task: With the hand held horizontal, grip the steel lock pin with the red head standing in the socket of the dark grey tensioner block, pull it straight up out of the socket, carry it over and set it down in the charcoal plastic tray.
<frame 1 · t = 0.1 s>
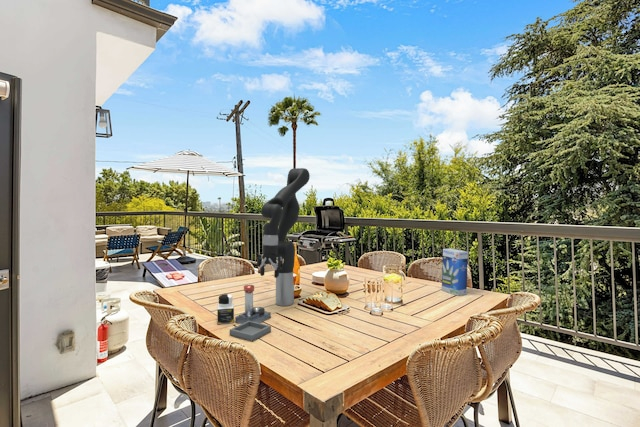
hand: (269, 276, 173), 17 cm above the table, tool pointing down, fingers open, 8 cm apart
medicine bottle: (225, 321, 159), on the table
tensioner block: (253, 319, 161), on the table
lock pin: (249, 316, 158), point 2 cm above the table, touching tensioner block
tray: (250, 333, 145), on the table
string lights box: (453, 292, 210), on the table
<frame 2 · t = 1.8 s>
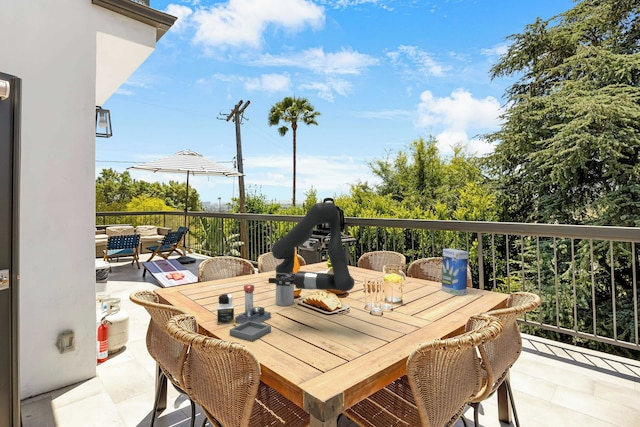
hand: (272, 278, 154), 21 cm above the table, tool horizontal, fingers open, 8 cm apart
nothing on the table moved.
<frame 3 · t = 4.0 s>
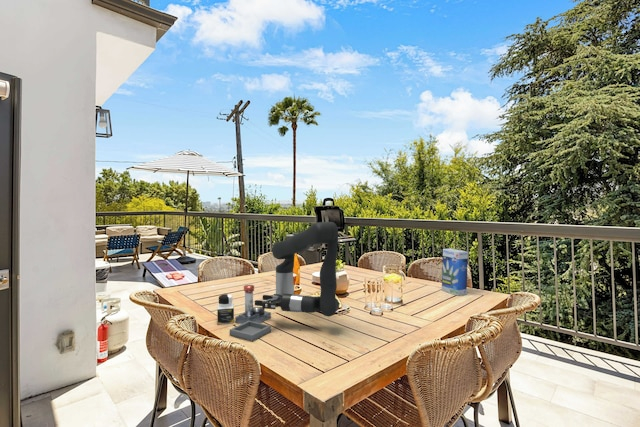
hand: (259, 299, 157), 11 cm above the table, tool horizontal, fingers open, 8 cm apart
nothing on the table moved.
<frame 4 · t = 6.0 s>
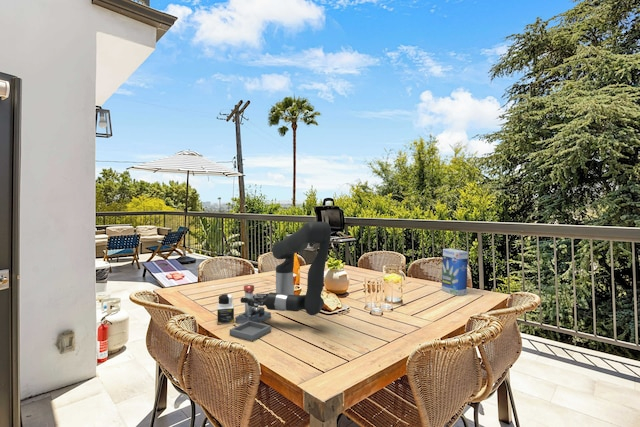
hand: (243, 298, 159), 10 cm above the table, tool horizontal, fingers closed on lock pin, 3 cm apart
lock pin: (249, 316, 158), point 3 cm above the table, touching gripper, tensioner block
everything else where it was.
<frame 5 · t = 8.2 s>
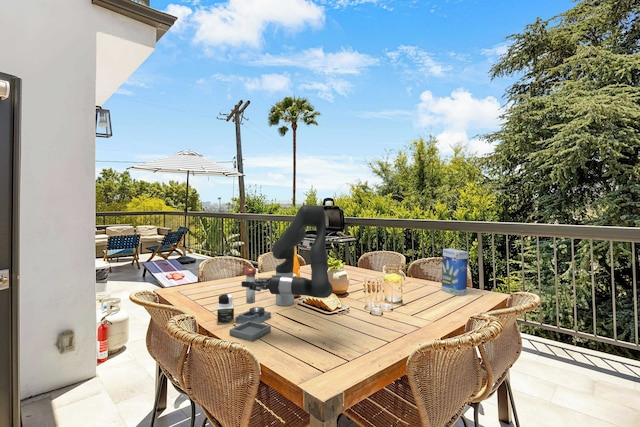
hand: (244, 282, 145), 21 cm above the table, tool horizontal, fingers closed on lock pin, 3 cm apart
lock pin: (250, 302, 145), point 13 cm above the table, touching gripper
everything else where it was.
when the fingers open (10 cm above the table, at t = 10.7 s): lock pin drops 1 cm, resting on tray.
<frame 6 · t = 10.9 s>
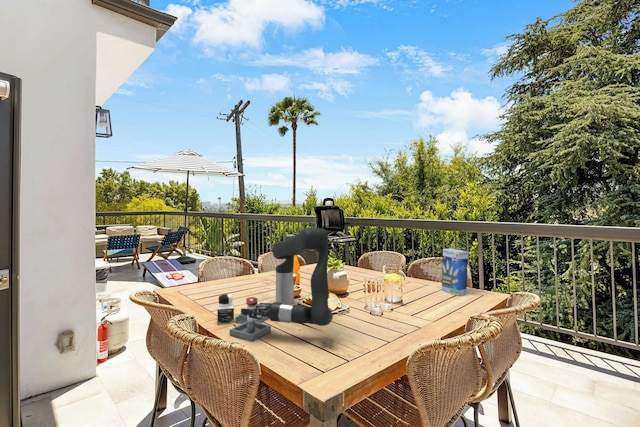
hand: (244, 308, 145), 10 cm above the table, tool horizontal, fingers open, 5 cm apart
lock pin: (250, 331, 145), point 1 cm above the table, touching tray
everything else where it was.
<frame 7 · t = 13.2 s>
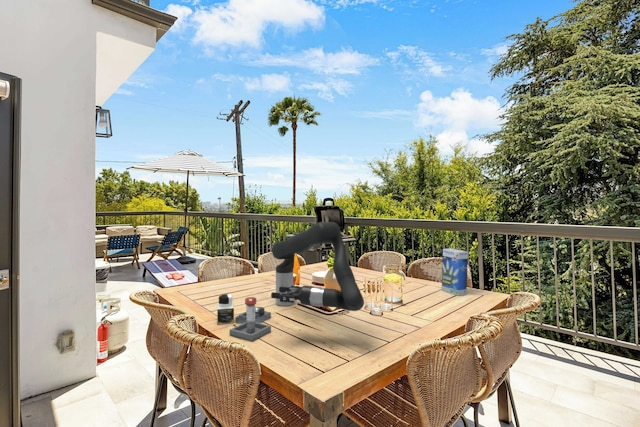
hand: (275, 292, 143), 18 cm above the table, tool horizontal, fingers open, 8 cm apart
nothing on the table moved.
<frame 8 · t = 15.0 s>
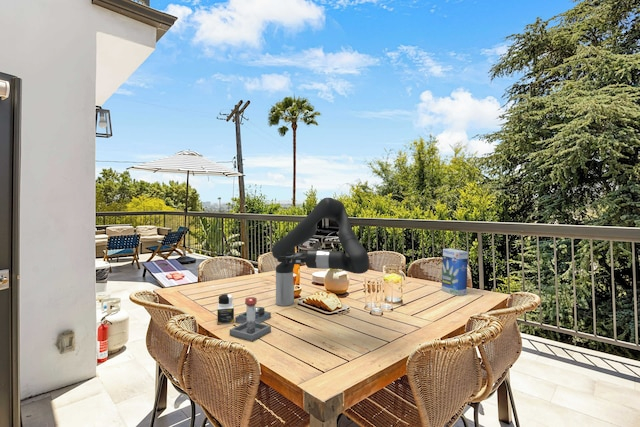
hand: (281, 257, 144), 32 cm above the table, tool horizontal, fingers open, 8 cm apart
nothing on the table moved.
at the end: lock pin inside the target area on the tray (0.1 cm from its centre), point 0.6 cm above the tray's base; lock pin touching tray; the gripper is holding nothing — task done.
